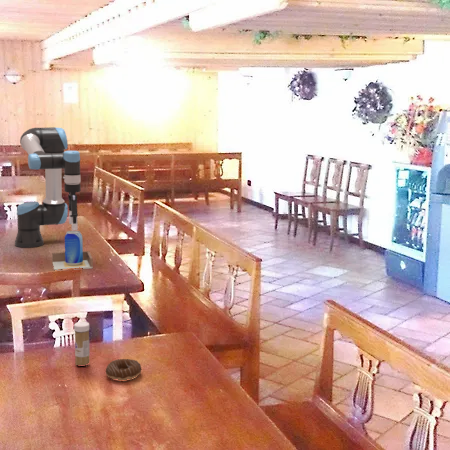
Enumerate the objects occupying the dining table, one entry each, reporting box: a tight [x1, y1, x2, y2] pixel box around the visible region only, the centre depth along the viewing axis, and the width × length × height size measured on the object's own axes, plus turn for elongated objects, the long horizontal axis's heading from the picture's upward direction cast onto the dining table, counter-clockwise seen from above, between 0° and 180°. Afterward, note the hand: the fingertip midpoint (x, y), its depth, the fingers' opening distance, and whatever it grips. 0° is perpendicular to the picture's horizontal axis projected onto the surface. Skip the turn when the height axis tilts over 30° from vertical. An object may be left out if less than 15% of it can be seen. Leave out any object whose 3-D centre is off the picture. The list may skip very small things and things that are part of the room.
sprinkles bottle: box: [73, 321, 90, 366], centre depth 199 cm, size 5×5×13 cm
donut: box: [105, 358, 142, 380], centre depth 193 cm, size 11×11×4 cm
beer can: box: [64, 230, 84, 266], centre depth 314 cm, size 8×8×16 cm
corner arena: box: [51, 250, 94, 271], centre depth 316 cm, size 15×18×5 cm
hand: (73, 227), depth 312 cm, fingers open, 13 cm apart
